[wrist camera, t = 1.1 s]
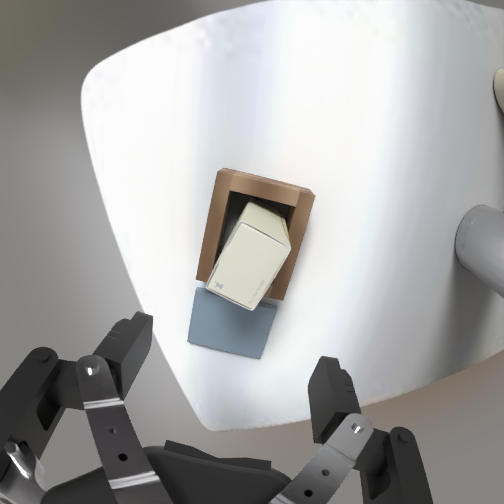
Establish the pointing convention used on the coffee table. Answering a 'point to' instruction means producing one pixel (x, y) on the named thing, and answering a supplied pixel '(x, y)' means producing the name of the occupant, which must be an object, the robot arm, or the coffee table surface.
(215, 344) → the pad
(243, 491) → the robot arm
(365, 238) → the coffee table surface
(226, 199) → the pocket block
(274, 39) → the coffee table surface
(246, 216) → the skincare box
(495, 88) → the travel mug
